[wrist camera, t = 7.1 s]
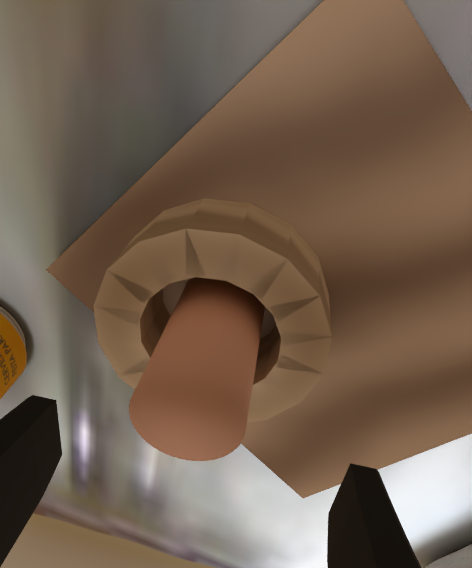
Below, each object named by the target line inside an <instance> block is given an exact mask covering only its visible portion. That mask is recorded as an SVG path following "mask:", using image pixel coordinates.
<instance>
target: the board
mask: <svg viewBox="0 0 472 568" xmlns="http://www.w3.org/2000/svg"><path fill="white" fill-rule="evenodd" d="M204 198H205V199H215V200H224V201H234V202H244V203H251V204H253V205H254V206H256V207H258V208H260V209H262V210H264V211H266V212H268V213H270V214H272V215H274V216H276V217H278V218H280V219H281V220H283V221H285V222H287V223H289V224H291V225H292V226H293V228H294V229H295V230H296V231H297V232H298V233H299V235H300V236H301V237H302V238H303V239H304V241H305V242H306V243H307V244H308V245H309V246H310V248H311V249H312V250H313V251H314V252H315V253H316V255H317V256H318V257H319V261H320V264H321V268H322V272H323V275H324V279H325V282H326V286H327V289H328V293H329V303H330V315H331V328H332V340H331V345H330V349H329V354H328V359H327V364H326V368H325V373H324V375H323V376H322V377H321V379H320V380H319V381H318V382H317V383H316V385H315V386H314V387H313V388H312V389H311V391H310V392H309V393H308V394H307V395H306V397H305V398H304V399H303V400H302V401H301V403H299V404H297V405H295V406H293V407H291V408H289V409H287V410H285V411H283V412H281V413H279V414H277V415H275V416H273V417H271V418H269V419H267V420H262V421H254V422H247V425H246V431H245V436H244V438H243V440H242V442H241V444H242V445H244V446H245V447H246V448H247V449H248V450H249V451H250V452H251V453H253V454H254V455H255V456H256V457H257V458H258V459H259V460H260V461H262V462H263V463H264V464H265V465H266V466H267V467H268V468H269V469H271V470H272V471H273V472H274V473H275V474H276V475H277V476H278V477H280V478H281V479H282V480H283V481H284V482H285V483H286V484H287V485H288V486H290V487H291V488H292V489H293V490H294V491H295V492H296V493H297V494H299V495H300V496H301V497H302V498H305V497H308V496H310V495H313V494H316V493H318V492H321V491H323V490H326V489H329V488H331V487H334V486H336V485H339V484H341V483H342V481H343V479H344V476H345V474H346V472H347V469H348V467H349V465H350V463H352V464H356V465H361V466H366V467H370V468H375V469H377V470H378V469H380V468H383V467H386V466H388V465H391V464H393V463H396V462H399V461H401V460H404V459H406V458H409V457H411V456H414V455H417V454H419V453H422V452H424V451H427V450H430V449H432V448H435V447H437V446H440V445H443V444H445V443H448V442H450V441H453V440H456V439H458V438H461V437H463V436H466V435H469V434H471V433H472V111H471V109H470V108H469V106H468V104H467V103H466V101H465V99H464V98H463V96H462V95H461V93H460V91H459V90H458V88H457V86H456V85H455V83H454V82H453V80H452V78H451V77H450V75H449V73H448V72H447V70H446V69H445V67H444V65H443V64H442V62H441V60H440V59H439V57H438V56H437V54H436V52H435V51H434V49H433V48H432V46H431V44H430V43H429V41H428V39H427V38H426V36H425V35H424V33H423V31H422V30H421V28H420V26H419V25H418V23H417V22H416V20H415V18H414V17H413V15H412V13H411V12H410V10H409V9H408V7H407V5H406V4H405V2H404V0H324V1H322V2H321V3H320V4H319V5H318V6H317V7H316V8H315V9H314V10H313V11H312V12H311V13H310V14H309V15H308V16H307V17H306V18H305V19H304V20H303V21H302V22H301V23H300V24H299V25H298V26H297V27H296V28H295V29H294V30H293V31H292V32H291V33H289V34H288V35H287V36H286V37H285V38H284V39H283V40H282V41H281V42H280V43H279V44H278V45H277V46H276V47H275V48H274V49H273V50H272V51H271V52H270V53H269V54H268V55H267V56H266V57H265V58H264V59H263V60H262V61H261V62H260V63H259V64H258V65H257V66H255V67H254V68H253V69H252V70H251V71H250V72H249V73H248V74H247V75H246V76H245V77H244V78H243V79H242V80H241V81H240V82H239V83H238V84H237V85H236V86H235V87H234V88H233V89H232V90H231V91H230V92H229V93H228V94H227V95H226V96H225V97H224V98H222V99H221V100H220V101H219V102H218V103H217V104H216V105H215V106H214V107H213V108H212V109H211V110H210V111H209V112H208V113H207V114H206V115H205V116H204V117H203V118H202V119H201V120H200V121H199V122H198V123H197V124H196V125H195V126H194V127H193V128H192V129H191V130H190V131H188V132H187V133H186V134H185V135H184V136H183V137H182V138H181V139H180V140H179V141H178V142H177V143H176V144H175V145H174V146H173V147H172V148H171V149H170V150H169V151H168V152H167V153H166V154H165V155H164V156H163V157H162V158H161V159H160V160H159V161H158V162H157V163H155V164H154V165H153V166H152V167H151V168H150V169H149V170H148V171H147V172H146V173H145V174H144V175H143V176H142V177H141V178H140V179H139V180H138V181H137V182H136V183H135V184H134V185H133V186H132V187H131V188H130V189H129V190H128V191H127V192H126V193H125V194H124V195H122V196H121V197H120V198H119V199H118V200H117V201H116V202H115V203H114V204H113V205H112V206H111V207H110V208H109V209H108V210H107V211H106V212H105V213H104V214H103V215H102V216H101V217H100V218H99V219H98V220H97V221H96V222H95V223H94V224H93V225H92V226H91V227H90V228H88V229H87V230H86V231H85V232H84V233H83V234H82V235H81V236H80V237H79V238H78V239H77V240H76V241H75V242H74V243H73V244H72V245H71V246H70V247H69V248H68V249H67V250H66V251H65V252H64V253H63V254H62V255H61V256H60V257H59V258H58V259H57V260H55V261H54V262H53V263H52V264H51V265H50V266H49V267H48V268H47V269H46V270H47V271H48V272H49V273H50V274H51V275H52V276H54V277H55V278H56V279H57V280H58V281H59V282H60V283H61V284H63V285H64V286H65V287H66V288H67V289H68V290H69V291H70V292H72V293H73V294H74V295H75V296H76V297H77V298H78V299H79V300H81V301H82V302H83V303H84V304H85V305H86V306H87V307H88V308H90V309H91V310H92V311H93V312H94V306H93V305H94V303H95V300H96V297H97V295H98V292H99V289H100V286H101V284H102V281H103V278H104V275H105V273H106V270H107V269H108V267H109V266H110V265H111V264H112V263H113V261H114V260H115V259H116V258H117V257H118V256H119V254H120V253H121V252H122V251H123V250H124V248H125V247H126V246H127V245H128V244H129V242H130V241H131V240H132V239H133V238H134V236H135V235H137V234H138V233H139V232H140V231H141V230H142V229H143V228H144V227H146V226H147V225H148V224H149V223H150V222H151V221H152V220H153V219H155V218H156V217H157V216H158V215H159V214H160V213H161V212H162V211H164V210H167V209H170V208H174V207H177V206H181V205H184V204H187V203H191V202H194V201H197V200H201V199H204ZM188 280H189V279H186V280H182V281H178V282H173V283H169V284H168V285H166V286H165V287H164V288H163V302H164V304H165V306H166V308H167V310H168V312H169V314H170V316H171V315H172V313H173V311H174V309H175V307H176V305H177V302H178V300H179V298H180V296H181V294H182V292H183V290H184V288H185V286H186V284H187V282H188ZM275 326H276V322H275V319H274V316H273V314H272V313H271V312H270V311H269V310H268V309H267V308H266V307H265V310H264V317H263V323H262V330H261V336H260V339H262V338H263V337H265V336H267V335H268V334H270V333H271V332H272V330H273V329H274V328H275Z"/></svg>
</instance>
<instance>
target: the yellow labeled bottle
mask: <svg viewBox="0 0 472 568" xmlns="http://www.w3.org/2000/svg"><path fill="white" fill-rule="evenodd" d="M26 362H27V353H26V342H25V337H24V334H23V331H22V329H21V328H20V326H19V324H18V323H17V321H16V320H15V319H14V318H13V317H12V316H11V315H10V313H8V312H7V311H6V310H5V309H4V308H2V307H1V306H0V399H1V398H2V396H3V395H4V394H5V393H6V392H7V390H8V389H9V388H10V387H11V386H12V384H13V383H14V382H15V381H16V380H17V378H18V377H19V376H20V375H21V374H22V372H23V371H24V369H25V366H26Z"/></svg>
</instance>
